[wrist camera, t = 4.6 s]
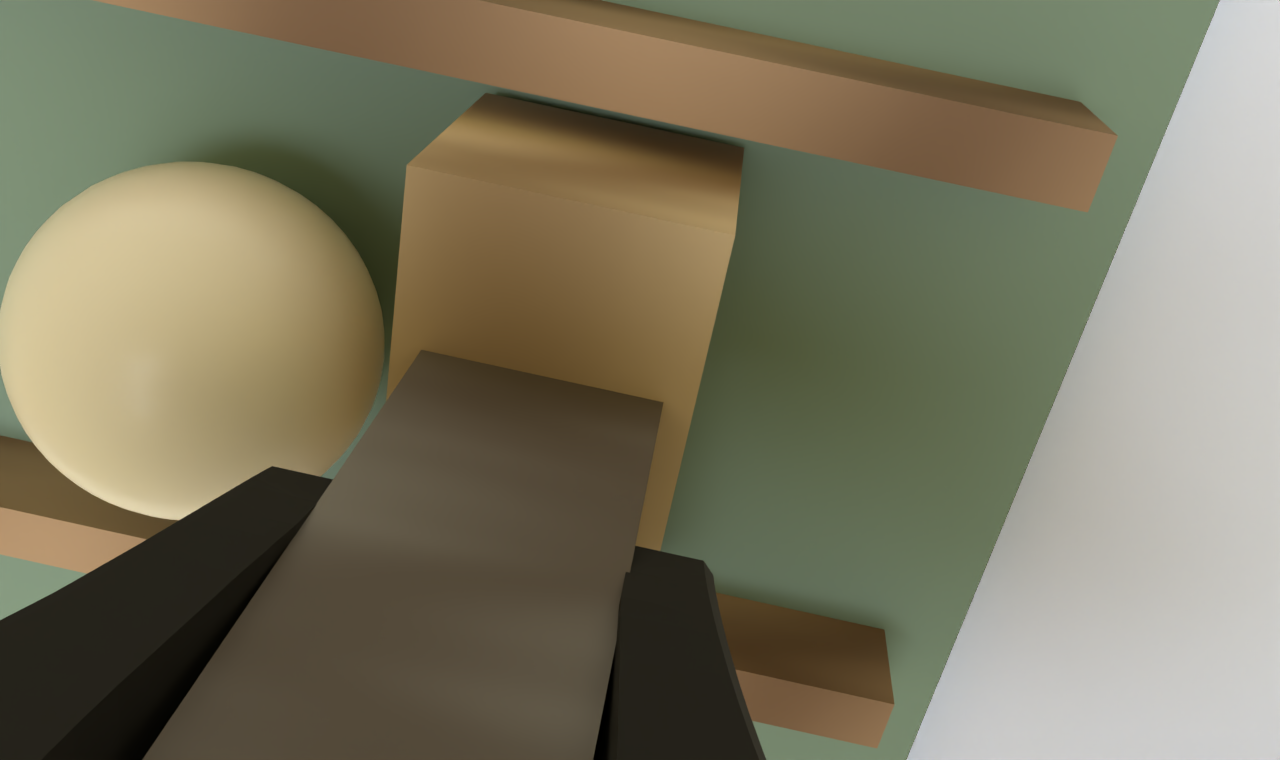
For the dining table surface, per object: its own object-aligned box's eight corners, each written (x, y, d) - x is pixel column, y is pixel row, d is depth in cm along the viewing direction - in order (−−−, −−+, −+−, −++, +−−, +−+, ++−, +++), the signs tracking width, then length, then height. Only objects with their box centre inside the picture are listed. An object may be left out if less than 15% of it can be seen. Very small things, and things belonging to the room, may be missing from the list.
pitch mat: (1265, -159, 11) (1285, -158, 11) (879, 793, 18) (881, 818, 17) (-976, -624, 12) (-1046, -641, 11) (-553, 475, 18) (-587, 491, 18)
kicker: (745, 148, 12) (687, 723, 4) (646, 567, 15) (501, 1388, 7) (485, 93, 12) (-35, 566, 4) (435, 520, 15) (58, 1286, 7)
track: (1069, 91, 13) (1117, 134, 11) (866, 649, 16) (877, 748, 15) (-200, -178, 13) (-357, -177, 11) (-106, 434, 17) (-211, 507, 15)
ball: (441, 161, 13) (317, 283, 10) (412, 442, 15) (300, 631, 12) (118, 91, 13) (-123, 188, 10) (129, 380, 15) (-70, 549, 12)
